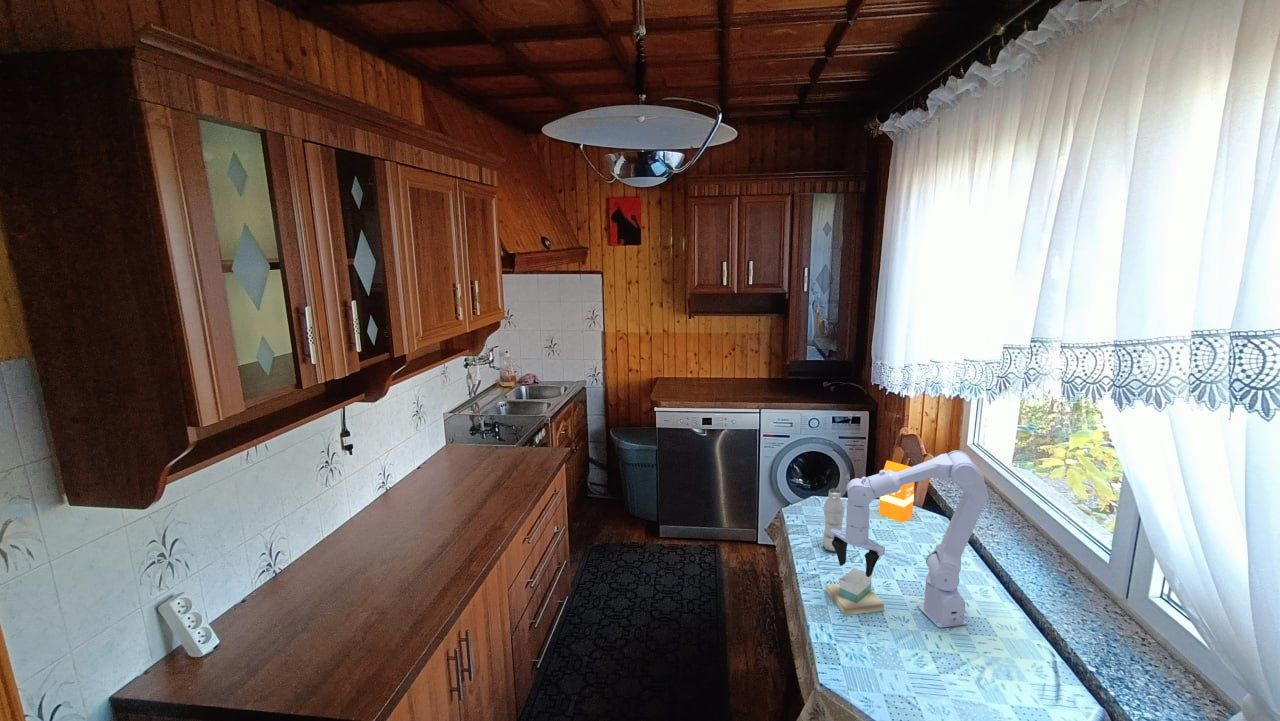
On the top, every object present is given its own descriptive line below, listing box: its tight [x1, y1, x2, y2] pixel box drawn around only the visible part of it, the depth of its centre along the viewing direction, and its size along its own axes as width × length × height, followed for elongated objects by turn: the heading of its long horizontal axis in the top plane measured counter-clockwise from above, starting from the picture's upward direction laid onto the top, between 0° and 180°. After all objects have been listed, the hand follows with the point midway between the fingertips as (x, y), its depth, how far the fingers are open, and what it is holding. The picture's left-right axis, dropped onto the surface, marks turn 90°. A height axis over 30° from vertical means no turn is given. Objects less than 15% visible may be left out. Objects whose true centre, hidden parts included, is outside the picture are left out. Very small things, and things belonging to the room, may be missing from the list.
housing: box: [839, 567, 872, 604], centre depth 153 cm, size 8×5×5 cm, turn 132°
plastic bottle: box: [822, 488, 846, 553], centre depth 179 cm, size 6×7×20 cm
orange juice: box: [878, 460, 915, 524], centre depth 200 cm, size 8×9×20 cm
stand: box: [825, 582, 885, 616], centre depth 153 cm, size 11×11×2 cm
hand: (855, 569), depth 152 cm, fingers open, 7 cm apart
